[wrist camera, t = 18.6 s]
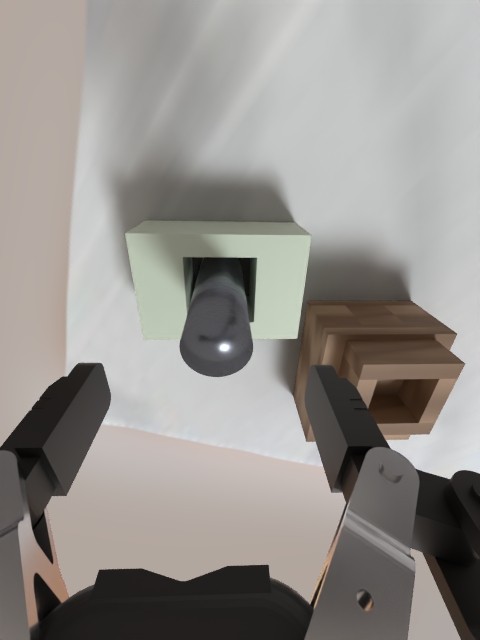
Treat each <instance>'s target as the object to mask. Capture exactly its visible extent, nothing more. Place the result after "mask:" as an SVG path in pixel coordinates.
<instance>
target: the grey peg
mask: <svg viewBox="0 0 480 640" xmlns="http://www.w3.org/2000/svg"><path fill="white" fill-rule="evenodd" d="M180 352H181V355H182V358H183V360H184V361H185V363H186V364H187V365H188V366H189V367H190V368H191V369H193V370H194V371H196V372H198V373H200V374H203V375H206V376H212V377H222V376H227V375H231V374H233V373H236V372H237V371H239V370H241V369H242V368H243V367H244V366H245V365H246V364H247V363H248V361H249V360H250V358H251V355H252V352H253V342H252V335H251V328H250V321H249V315H248V308H247V301H246V295H245V288H244V281H243V274H242V268H241V264H240V261H239V259H238V258H237V257H204V259H203V260H202V262H201V266H200V269H199V273H198V277H197V281H196V284H195V288H194V292H193V295H192V299H191V303H190V306H189V310H188V314H187V318H186V321H185V325H184V329H183V332H182V336H181V340H180Z"/></svg>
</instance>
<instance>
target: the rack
mask: <svg viewBox="0 0 480 640" xmlns="http://www.w3.org/2000/svg"><path fill="white" fill-rule="evenodd" d="M125 237H126V243H127V248H128V254H129V260H130V266H131V271H132V277H133V283H134V288H135V294H136V300H137V306H138V311H139V317H140V323H141V328H142V334H143V340H170V339H181V336H182V332H183V329H184V325H185V321H186V318H187V314H188V310H189V306H190V303H191V299H192V295H193V292H194V280H193V264H192V257H239V258H251V266H250V291H249V296H246V301H247V308H248V315H249V321H250V328H251V335H252V339H297V336H298V329H299V322H300V315H301V308H302V301H303V294H304V287H305V280H306V272H307V265H308V258H309V251H310V244H311V237H312V235H310V234H309V233H308V232H307V231H305V230H304V229H303V228H302V227H300V226H299V225H298V224H297V223H295V222H236V221H164V220H145V221H143V222H142V223H140V224H139V225H137V226H135V227H134V228H132V229H131V230H129V231H128V232H126V233H125Z"/></svg>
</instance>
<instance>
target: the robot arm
mask: <svg viewBox="0 0 480 640" xmlns="http://www.w3.org/2000/svg"><path fill="white" fill-rule="evenodd" d="M110 401H111V393H110V389H109V385H108V382H107V378H106V374H105V371H104V367H103V365H102V364H101V363H78V364H77V365H76V366H75V367H74V369H73V370H72V371H71V373H70V374H69V375H68V377H61V378H60V379H59V380H57V381H56V382H54V383H53V384H52V385H50V386H49V387H48V388H47V389H46V391H45V392H44V393H43V394H42V396H41V397H40V400H39V401H37V402H36V403H35V404H34V406H33V407H32V410H31V411H29V412H28V413H27V414H26V416H25V417H24V418H23V420H22V421H21V422H20V423H19V425H18V426H17V427H16V428H15V430H14V431H13V432H12V433H11V435H10V436H9V437H8V438H7V440H6V441H5V442H4V443H3V445H2V446H1V447H0V640H407V639H408V630H409V621H410V613H411V605H412V597H413V588H414V580H415V560H414V558H413V557H411V555H410V548H412V549H415V550H418V551H420V552H422V553H423V555H424V557H425V559H426V561H427V564H428V566H429V568H430V571H431V573H432V575H433V577H434V580H435V582H436V584H437V586H438V589H439V591H440V593H441V595H442V598H443V600H444V602H445V604H446V607H447V609H448V611H449V613H450V615H451V618H452V620H453V622H454V625H455V627H456V629H457V631H458V634H459V636H460V638H461V640H480V474H479V473H476V472H473V471H467V470H461V471H458V472H456V473H455V474H454V475H453V476H452V478H451V479H447V478H444V477H440V476H437V475H433V474H430V473H426V472H423V471H420V470H417V469H415V468H414V466H413V465H412V464H411V462H410V461H409V460H408V459H407V458H405V457H404V456H403V455H401V454H400V453H398V452H396V451H394V450H392V449H391V448H390V447H389V445H388V443H387V442H386V440H385V438H384V436H383V434H382V433H381V431H380V429H379V427H378V425H377V424H376V422H375V420H374V418H373V417H372V415H371V413H370V411H368V408H367V406H366V404H365V402H364V401H363V399H362V397H361V395H360V393H359V391H358V390H357V388H356V387H355V386H354V385H353V384H352V383H351V382H350V381H348V380H347V379H346V378H339V377H338V375H337V373H336V371H335V369H334V367H333V366H332V365H311V367H310V370H309V375H308V380H307V385H306V390H305V408H306V411H307V415H308V418H309V421H310V424H311V428H312V431H313V434H314V437H315V441H316V444H317V447H318V450H319V454H320V457H321V460H322V463H323V467H324V470H325V473H326V476H327V480H328V483H329V486H330V489H331V492H332V493H334V492H335V493H337V492H343V495H344V498H345V501H346V504H345V506H344V509H343V512H342V515H341V518H340V520H339V524H338V526H337V529H336V532H335V535H334V537H333V540H332V543H331V546H330V549H329V552H328V554H327V557H326V560H325V563H324V566H323V568H322V571H321V573H320V576H319V579H318V581H317V584H316V587H315V590H314V593H313V595H312V598H311V601H310V604H309V603H308V602H307V601H306V600H305V599H304V598H303V597H302V596H301V595H300V594H298V593H297V592H296V591H295V590H293V589H292V588H290V587H289V586H287V585H286V584H284V583H282V582H280V581H278V580H275V579H273V578H270V576H269V565H249V566H227V567H224V568H221V569H219V570H216V571H213V572H210V573H208V574H205V575H203V576H200V577H197V578H194V579H191V580H189V581H178V580H175V579H172V578H169V577H166V576H163V575H160V574H157V573H154V572H151V571H148V570H144V569H108V570H99V572H98V575H97V578H96V582H95V585H92V586H89V587H87V588H85V589H83V590H81V591H79V592H77V593H76V594H74V595H73V596H71V597H70V598H69V595H68V592H67V589H66V585H65V583H64V580H63V578H62V575H61V572H60V569H59V565H58V560H57V555H56V550H55V545H54V540H53V535H52V530H51V525H50V520H49V515H48V511H47V508H46V506H47V504H48V502H49V500H50V498H51V496H66V495H67V493H68V491H69V489H70V487H71V485H72V483H73V481H74V479H75V477H76V475H77V473H78V471H79V469H80V467H81V464H82V462H83V460H84V458H85V456H86V454H87V452H88V450H89V448H90V446H91V444H92V442H93V440H94V438H95V436H96V433H97V432H98V429H99V427H100V425H101V423H102V421H103V419H104V417H105V415H106V413H107V411H108V409H109V406H110Z"/></svg>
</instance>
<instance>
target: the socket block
mask: <svg viewBox="0 0 480 640" xmlns="http://www.w3.org/2000/svg"><path fill="white" fill-rule="evenodd" d="M456 336H457V333H455V332H454V331H452V330H451V329H450V328H448V327H447V326H446V325H444V324H443V323H441V322H440V321H439V320H437V319H436V318H434V317H433V316H432V315H430V314H429V313H427V312H426V311H425V310H423V309H422V308H421V307H419V306H418V305H416V304H415V303H414V302H412V301H308V302H307V309H306V316H305V322H304V329H303V336H302V342H301V349H300V355H299V362H298V369H297V375H296V382H295V389H294V395H293V397H294V400H295V404H296V407H297V411H298V414H299V417H300V421H301V424H302V428H303V431H304V435H305V438H306V442H314V441H315V437H314V434H313V431H312V428H311V424H310V421H309V418H308V415H307V411H306V408H305V390H306V385H307V380H308V375H309V370H310V367H311V365H332V366H333V367H334V369H335V371H336V373H337V375H338V377H339V378H346V379H347V380H348V381H350V382H351V383H352V384H353V385H354V386H355V387H356V388H357V390H358V391H359V393H360V395H361V397H362V399H363V401H364V402H365V404H366V406H367V408H368V411H370V413H371V415H372V417H373V418H374V420H375V422H376V424H377V425H378V427H379V429H380V431H381V433H382V434H383V436H384V438H385V440H402V439H409V437H410V435H415V434H430V432H431V430H432V428H433V426H434V424H435V422H436V420H437V418H438V416H439V414H440V412H441V410H442V408H443V406H444V404H445V402H446V400H447V398H448V396H449V394H450V393H451V391H452V389H453V387H454V385H455V383H456V381H457V379H458V377H459V375H460V373H461V371H462V369H463V367H464V365H465V363H464V362H463V361H461V360H460V359H459V358H458V357H456V356H455V355H454V354H453V353H452V352H450V348H451V346H452V344H453V342H454V340H455V338H456Z"/></svg>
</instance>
